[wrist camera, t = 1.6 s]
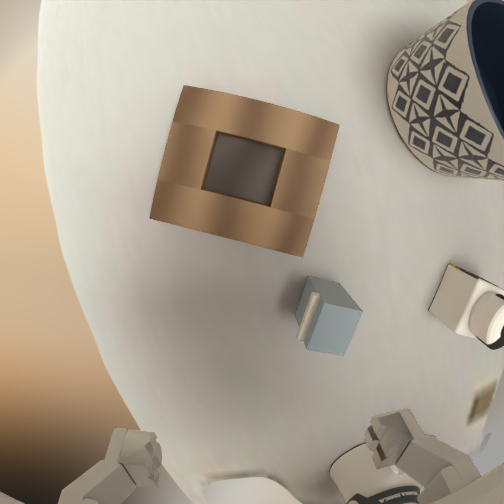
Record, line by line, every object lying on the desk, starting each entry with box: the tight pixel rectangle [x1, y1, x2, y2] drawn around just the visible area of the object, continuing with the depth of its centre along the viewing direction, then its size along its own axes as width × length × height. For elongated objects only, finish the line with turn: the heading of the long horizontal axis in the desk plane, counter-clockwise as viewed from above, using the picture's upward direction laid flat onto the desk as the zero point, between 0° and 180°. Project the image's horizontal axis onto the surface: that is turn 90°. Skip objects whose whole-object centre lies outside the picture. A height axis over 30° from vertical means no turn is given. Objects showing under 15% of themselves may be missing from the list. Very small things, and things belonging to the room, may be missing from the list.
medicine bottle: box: [429, 264, 504, 350], centre depth 29 cm, size 7×7×12 cm
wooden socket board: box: [150, 85, 339, 257], centre depth 30 cm, size 16×14×3 cm
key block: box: [295, 276, 363, 356], centre depth 31 cm, size 5×5×8 cm
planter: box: [387, 0, 504, 181], centre depth 21 cm, size 18×18×16 cm
